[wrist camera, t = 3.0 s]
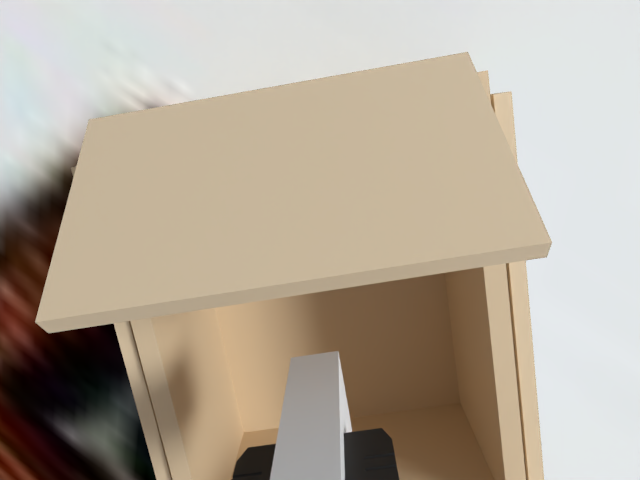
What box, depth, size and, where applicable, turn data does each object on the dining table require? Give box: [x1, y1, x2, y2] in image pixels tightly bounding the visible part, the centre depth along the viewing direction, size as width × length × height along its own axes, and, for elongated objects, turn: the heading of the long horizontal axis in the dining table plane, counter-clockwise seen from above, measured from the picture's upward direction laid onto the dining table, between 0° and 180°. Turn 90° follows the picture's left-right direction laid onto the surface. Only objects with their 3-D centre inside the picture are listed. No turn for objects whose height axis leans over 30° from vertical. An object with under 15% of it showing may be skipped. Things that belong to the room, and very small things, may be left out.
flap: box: [35, 52, 552, 333], centre depth 15 cm, size 1×12×8 cm
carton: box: [71, 71, 544, 480], centre depth 24 cm, size 18×16×9 cm
